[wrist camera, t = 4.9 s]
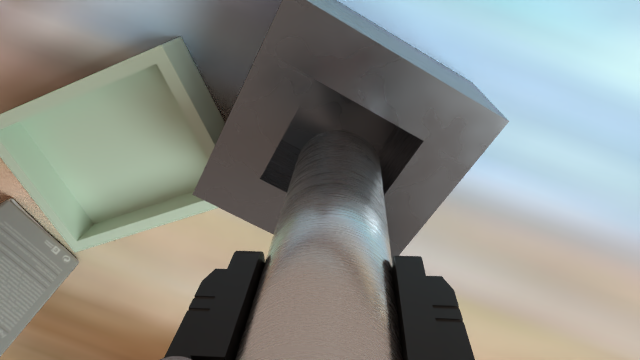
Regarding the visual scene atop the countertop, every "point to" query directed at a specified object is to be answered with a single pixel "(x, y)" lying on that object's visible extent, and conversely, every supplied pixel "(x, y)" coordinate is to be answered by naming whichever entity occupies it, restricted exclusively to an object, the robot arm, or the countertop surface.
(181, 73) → the dish
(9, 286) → the skincare box
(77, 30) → the countertop surface
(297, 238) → the pin
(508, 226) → the countertop surface
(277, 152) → the block
